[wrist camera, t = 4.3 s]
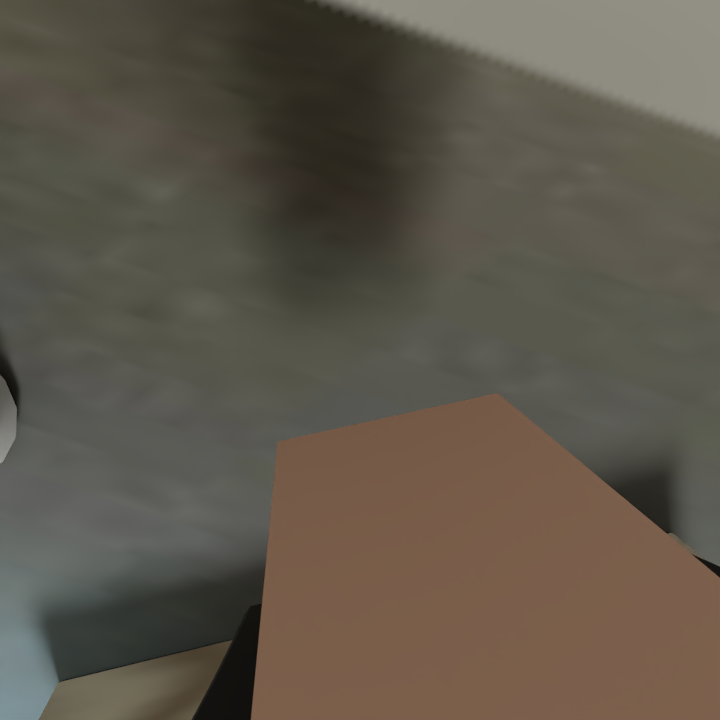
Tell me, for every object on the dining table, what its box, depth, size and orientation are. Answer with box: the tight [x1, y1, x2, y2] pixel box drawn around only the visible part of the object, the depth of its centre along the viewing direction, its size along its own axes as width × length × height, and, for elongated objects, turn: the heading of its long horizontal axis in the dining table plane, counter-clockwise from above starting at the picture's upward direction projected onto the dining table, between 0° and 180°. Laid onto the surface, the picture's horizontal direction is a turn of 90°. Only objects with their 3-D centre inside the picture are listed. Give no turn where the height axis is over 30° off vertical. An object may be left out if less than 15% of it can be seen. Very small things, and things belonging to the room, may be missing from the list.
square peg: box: [251, 393, 720, 720], centre depth 8 cm, size 4×4×7 cm
